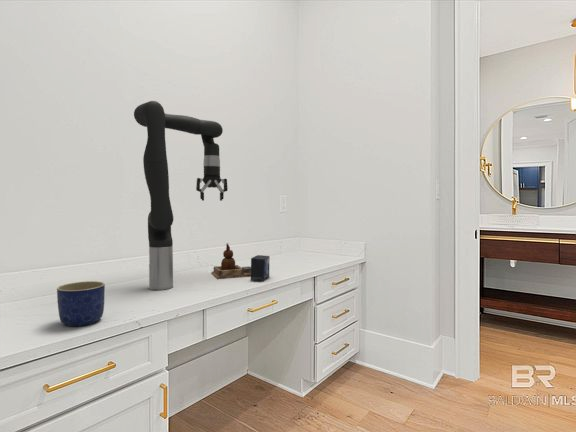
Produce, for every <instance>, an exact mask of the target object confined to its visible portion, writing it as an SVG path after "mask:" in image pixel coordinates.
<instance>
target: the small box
mask: <svg viewBox="0 0 576 432" xmlns="http://www.w3.org/2000/svg"><path fill="white" fill-rule="evenodd" d="M250 267H251V276H250V282H260V283H263V282H265V281H266V280H268V279H269V278H270V255H259V254H257V255H255V256H252V257H251V258H250Z"/></svg>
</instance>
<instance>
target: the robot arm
mask: <svg viewBox="0 0 576 432" xmlns="http://www.w3.org/2000/svg"><path fill="white" fill-rule="evenodd" d="M133 117H134V120H135V121H136V123H137V124H138V125H140V126H142V127H145V128H146V131H147V132H146V133H147V139H146V145H145V148H144V152H143V171H144V179H145V182H146V185H147V189H148V193H149V197H150V211H149V213H148V215H147V237H148V255H149V256H148V260H149V261H148V263H149V264H148V272H149V273H148V279H149V280H148V283H149V290H155V291H163V290H168V289H173V287H174V254H173V253H174V249H173V248H174V247H173V241H174V240H173V236H172V226H173V224H174V214H173V210H172V204H171V198H170V182H169V181H170V180H169V178H170V177H169V164H168V158H167V157H168V156H167V145H166V143H167V142H166V129H169V130H174V131H180V132H183V133H187V134H192V135H196V136H197V135H200V136H201V141H202V146H203V178H201V177H197V178H196V185H195V187H196V188H195V189H196V191H197V192H199V194H200V196H199V198H200V200H201V201H203V202H204V201H205V190H206V189H207V188H208V189H209V188H214V189H215V188H216V189H218V191H219V201H223V200H224V195H225V194H224V193H225V192H228V189H229V187H228V179H227V178H221V159H220V146H219V144H218V143H215V140H214V139H216V138H219V137H220V136H222V134H223V131H224V130H223V126H222V125H221V123H218V122H217V121H214V120H208V119H207V120H205V119H199V118H196V117H193V116H189V115H182V114H170V113H165V109H164V107H163V105H162V104H161V103H160V102H159V101H157V100H150V101H147V102H144V103H141V104H139V105H137V106H136V108H134V111H133ZM202 182H203V186H202V188H201V183H202ZM221 183H222V184H223V188H222V186H221Z"/></svg>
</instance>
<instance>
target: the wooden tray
mask: <svg viewBox="0 0 576 432" xmlns="http://www.w3.org/2000/svg"><path fill="white" fill-rule="evenodd" d="M211 275H212V276H213V277H214V278H215V279H217V280H221V279H223V280H224V279H236V278H247V277H250V278H251V265H250V266H240V265H238V264H235V269H234V270H222V268H221V265H218V266H216V265H215V266H213V271H211Z"/></svg>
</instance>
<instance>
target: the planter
mask: <svg viewBox="0 0 576 432" xmlns="http://www.w3.org/2000/svg"><path fill="white" fill-rule="evenodd" d="M105 286H106V285H105V283H104V282H103V281H92V280H90V281H78V282H77V281H76V282H70V283H65V284H63V285H60V286H58V287H57V288H56V297H57V298H56V299H57V310H58V316H59V320H60V322H61V323H62V324H63V325H65V326H68V327H80V326H79V325H83V326H87V325H86V324H88V325H91V324H90V323H92V324H94V323H96V322H98V321H100V320H101V318H102V317H103V314H104V310H105V293H106V292H105V290H106V289H105ZM93 322H94V323H93Z"/></svg>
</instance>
